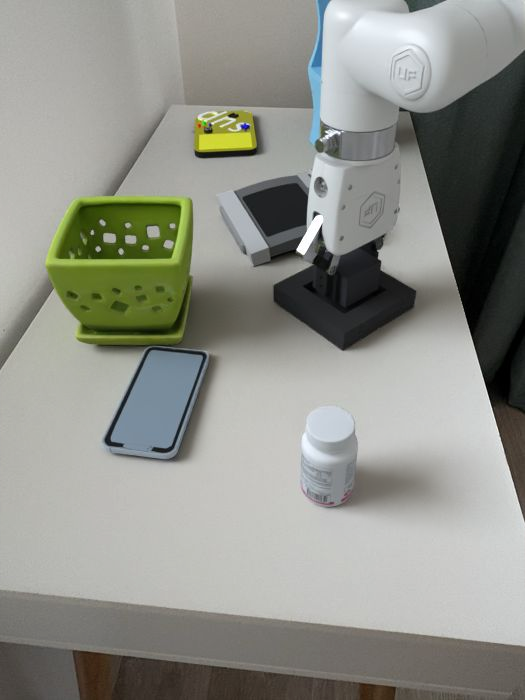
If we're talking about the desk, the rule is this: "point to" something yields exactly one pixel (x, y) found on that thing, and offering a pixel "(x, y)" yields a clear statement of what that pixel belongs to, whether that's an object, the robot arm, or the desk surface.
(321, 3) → the vase
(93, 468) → the desk surface
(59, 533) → the desk surface
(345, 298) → the dark grey square block
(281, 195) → the alarm clock
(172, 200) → the flower pot
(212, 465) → the desk surface
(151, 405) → the smartphone
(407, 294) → the base pad
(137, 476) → the desk surface
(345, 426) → the pill bottle
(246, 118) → the game console
